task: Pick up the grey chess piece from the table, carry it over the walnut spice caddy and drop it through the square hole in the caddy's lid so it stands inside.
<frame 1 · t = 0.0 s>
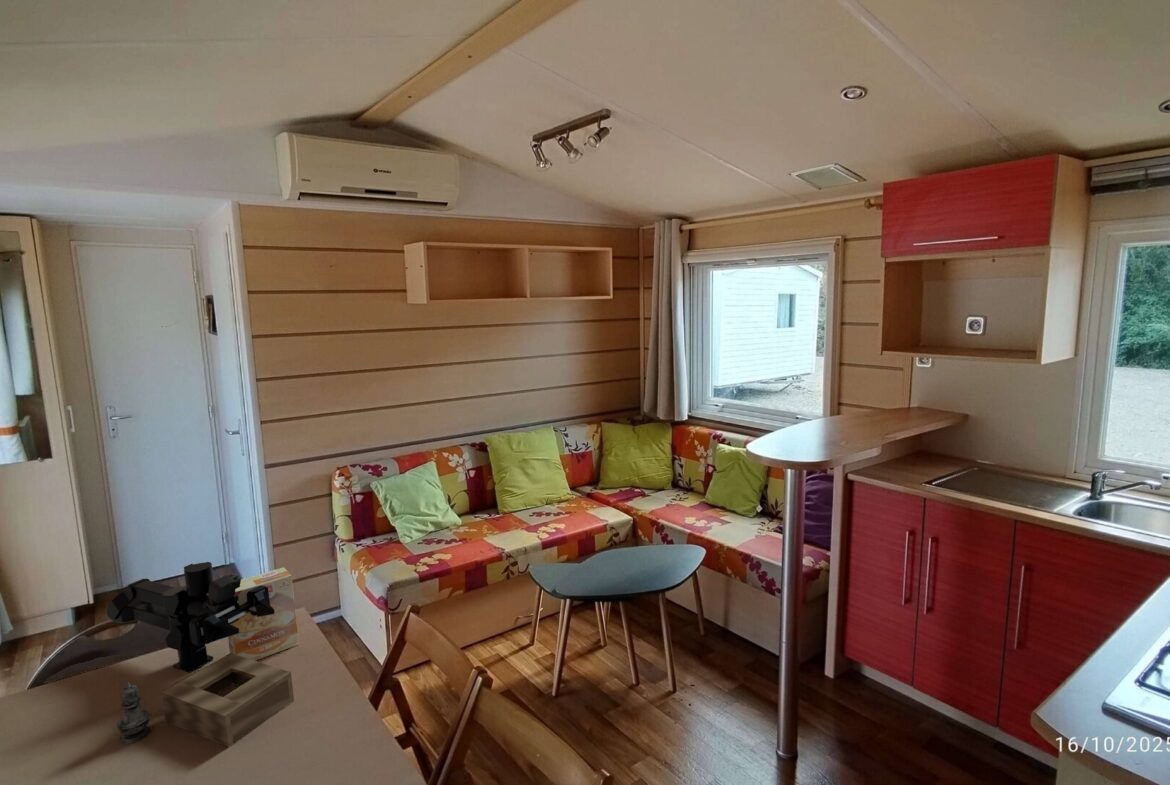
hand: (256, 621, 146), 17 cm above the table, tool horizontal, fingers open, 9 cm apart
grey chess piece: (136, 735, 134), on the table
coffeecake box: (265, 651, 164), on the table
spice caddy: (231, 711, 141), on the table
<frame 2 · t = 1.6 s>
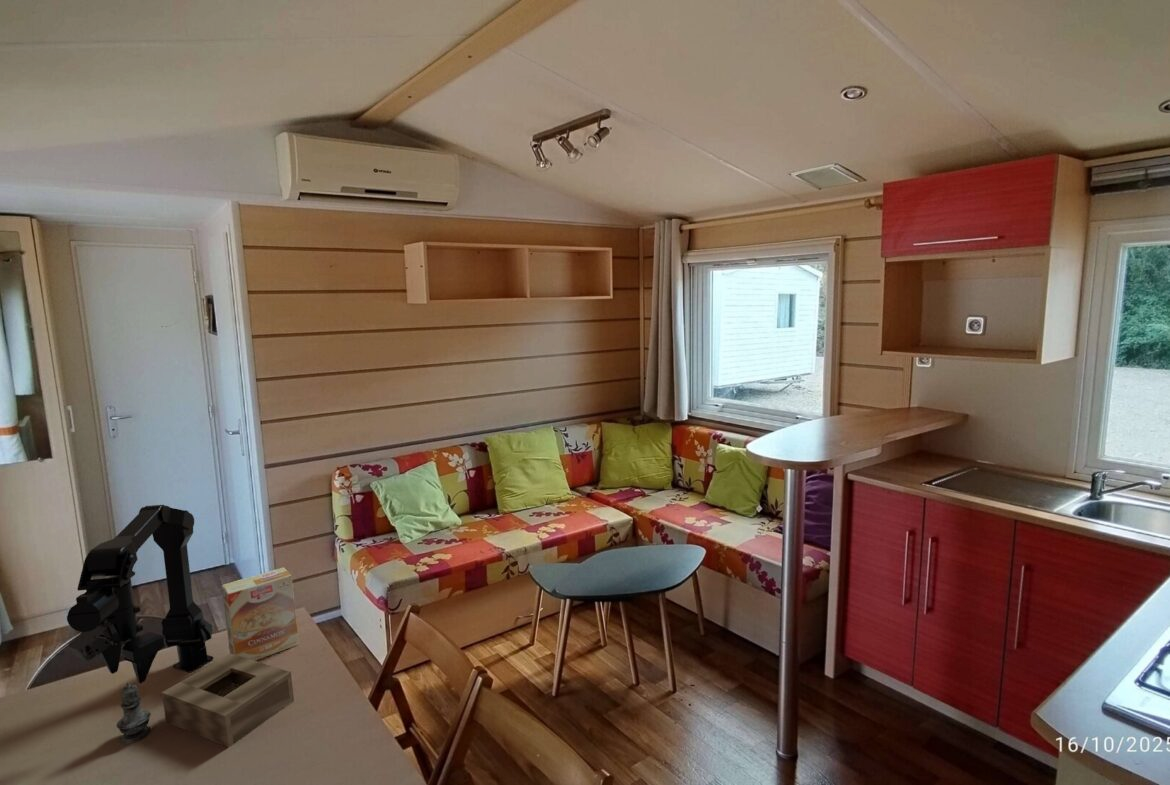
hand: (128, 677, 132), 13 cm above the table, tool pointing down, fingers open, 9 cm apart
nothing on the table moved.
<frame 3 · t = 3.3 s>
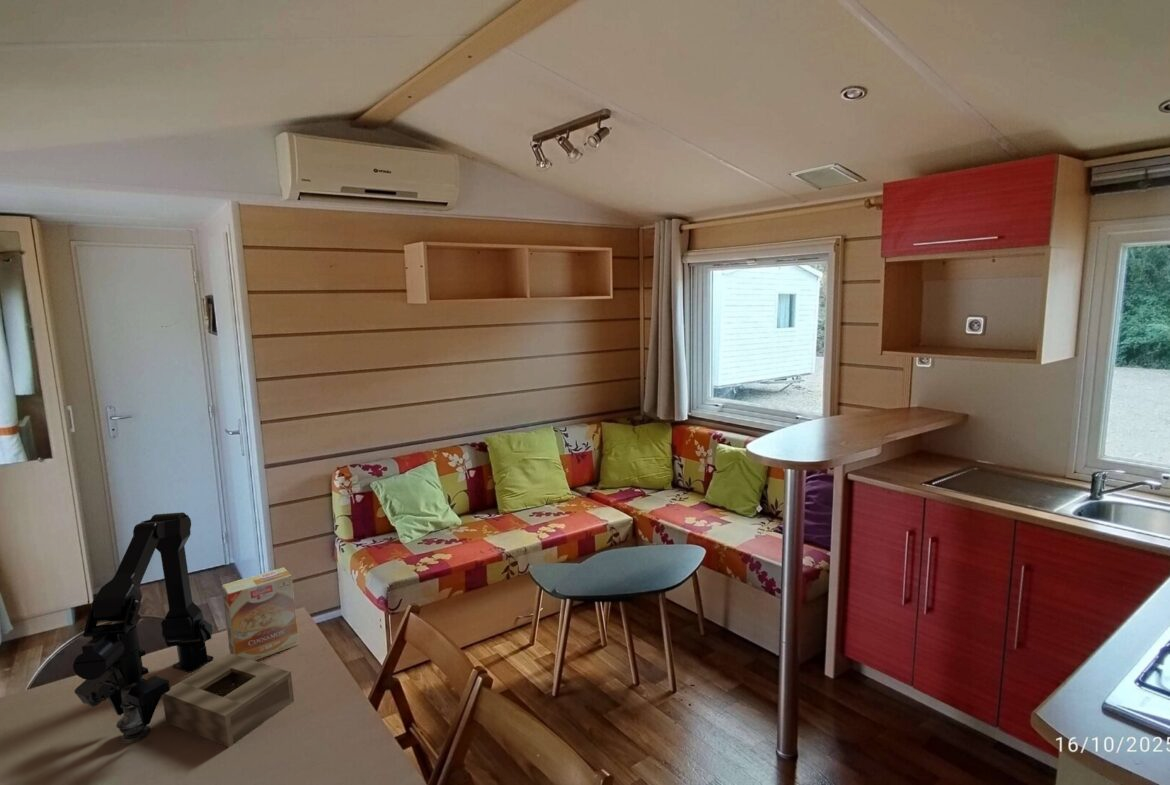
hand: (133, 719, 133), 4 cm above the table, tool pointing down, fingers closed on grey chess piece, 8 cm apart
grey chess piece: (136, 735, 134), on the table, touching gripper
everything else where it was.
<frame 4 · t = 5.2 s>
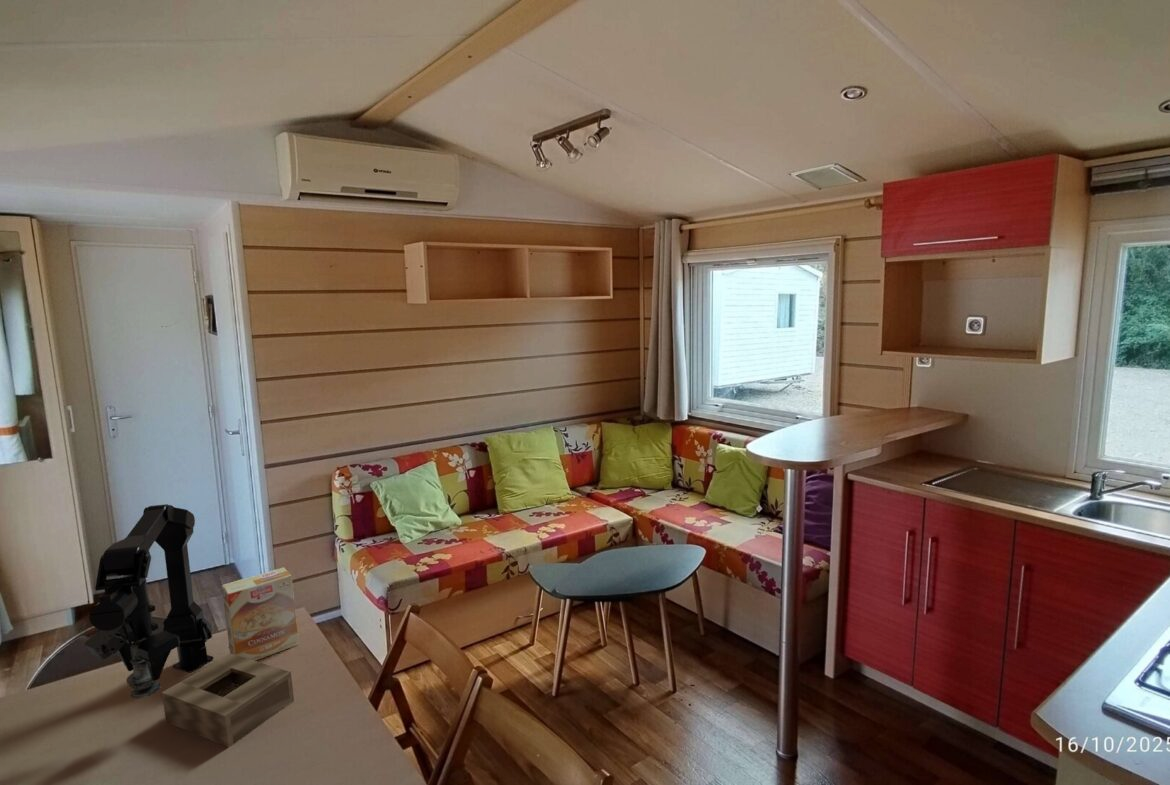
hand: (143, 674, 133), 13 cm above the table, tool pointing down, fingers closed on grey chess piece, 8 cm apart
grey chess piece: (146, 691, 134), point 9 cm above the table, touching gripper
everything else where it was.
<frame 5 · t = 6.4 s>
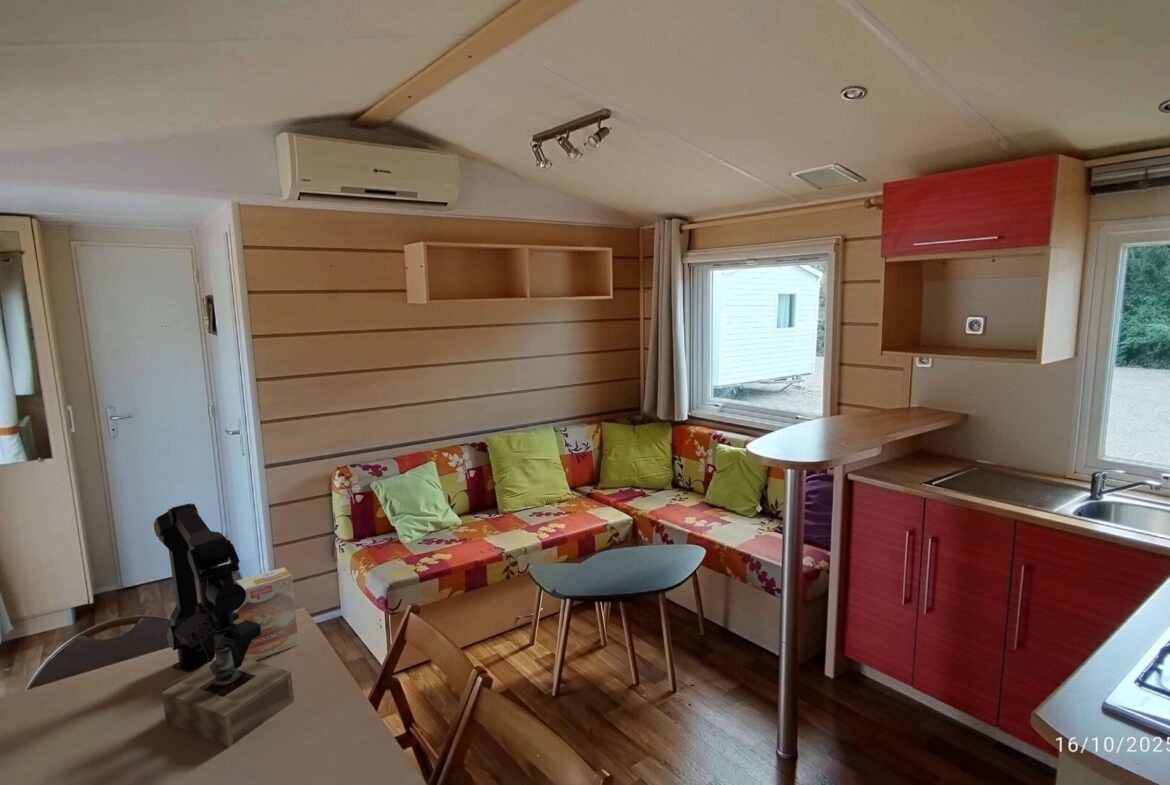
hand: (224, 662, 139), 12 cm above the table, tool pointing down, fingers closed on grey chess piece, 8 cm apart
grey chess piece: (227, 678, 139), point 8 cm above the table, touching gripper
everything else where it was.
when the fingers open (11 cm above the table, at t = 7.4 s): grey chess piece drops 8 cm, resting in spice caddy.
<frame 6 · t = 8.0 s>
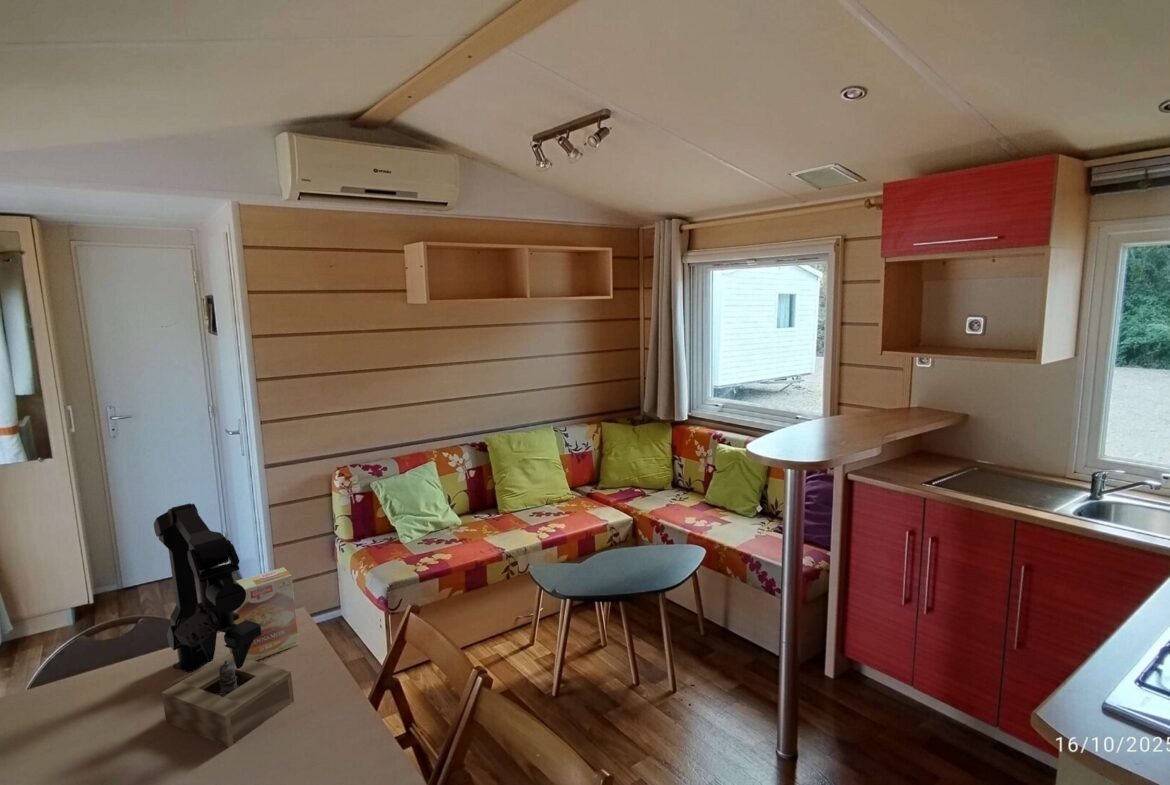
hand: (225, 663, 139), 11 cm above the table, tool pointing down, fingers open, 9 cm apart
grey chess piece: (231, 711, 141), resting in spice caddy
everything else where it was.
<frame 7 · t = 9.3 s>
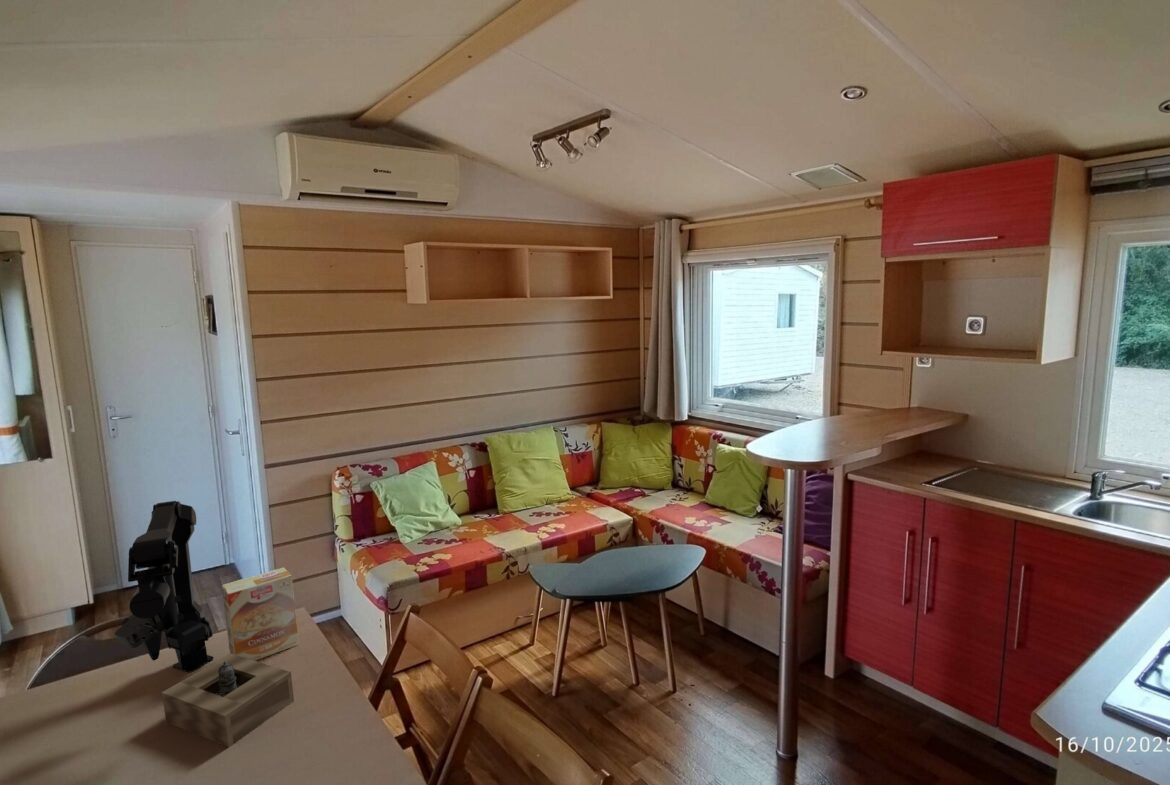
hand: (169, 663, 137), 13 cm above the table, tool pointing down, fingers open, 9 cm apart
nothing on the table moved.
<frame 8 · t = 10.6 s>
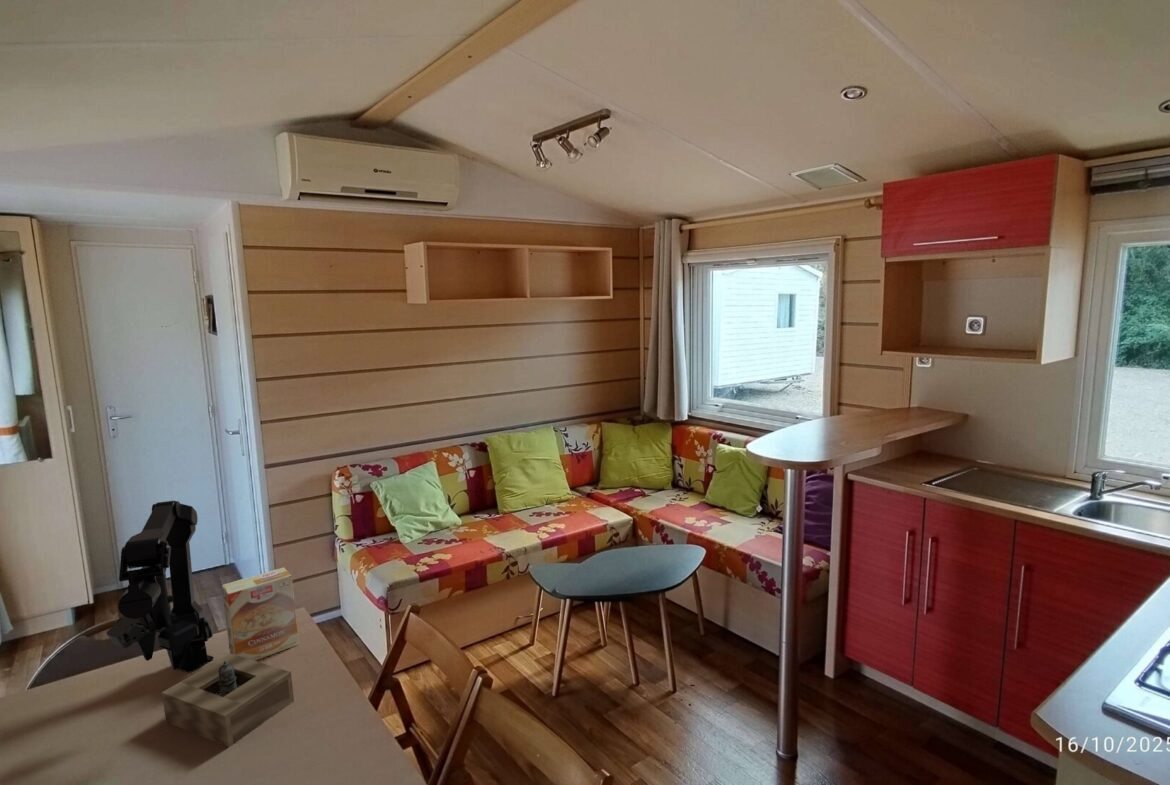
hand: (162, 664, 136), 13 cm above the table, tool pointing down, fingers open, 9 cm apart
nothing on the table moved.
at the end: grey chess piece inside the target area on the spice caddy (0.0 cm from its centre), point 0.0 cm above the spice caddy's base; the gripper is holding nothing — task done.
